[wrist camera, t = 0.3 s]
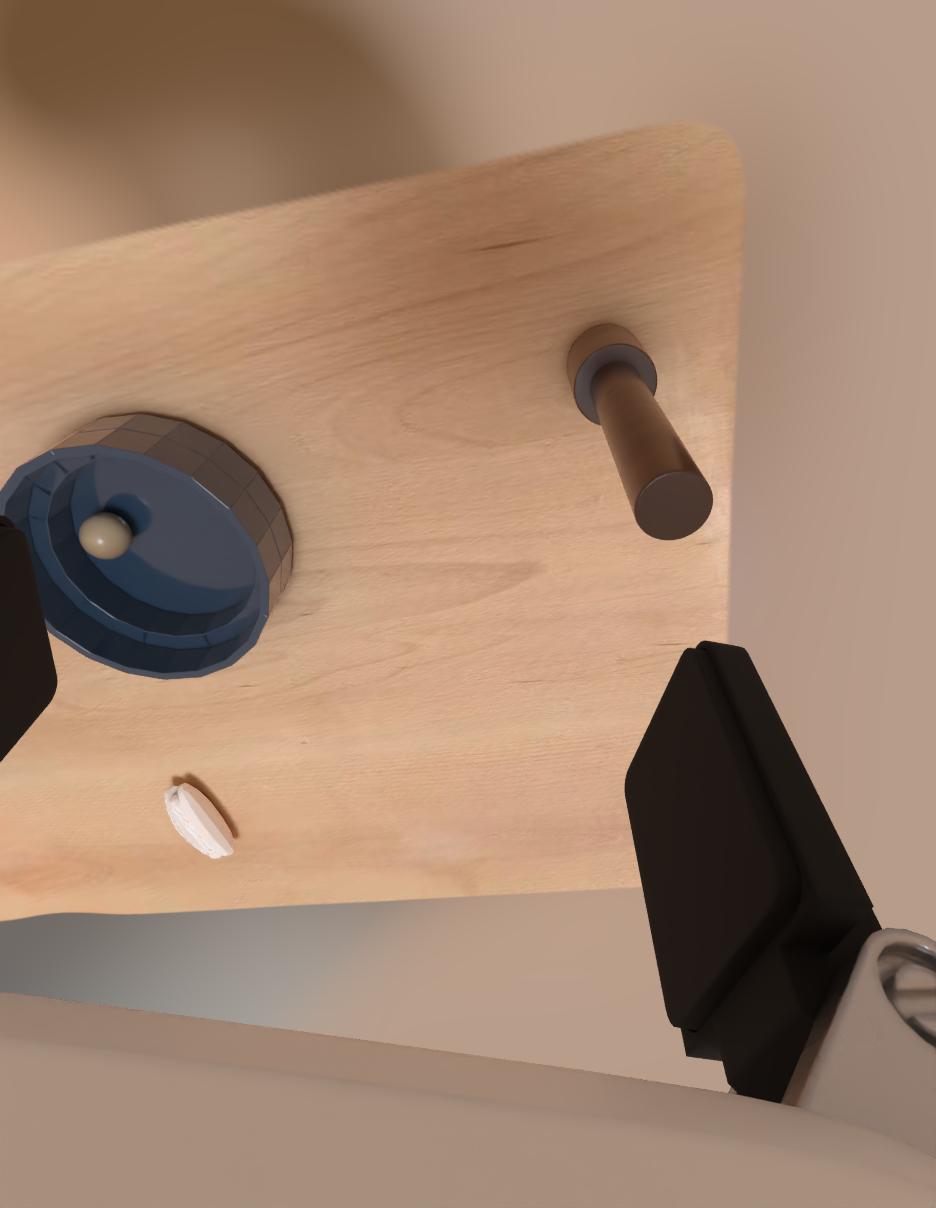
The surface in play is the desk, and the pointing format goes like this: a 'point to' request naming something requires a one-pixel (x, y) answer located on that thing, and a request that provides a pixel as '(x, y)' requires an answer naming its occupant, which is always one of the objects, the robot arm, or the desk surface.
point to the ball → (105, 535)
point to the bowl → (152, 546)
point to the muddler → (638, 432)
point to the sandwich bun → (198, 821)
